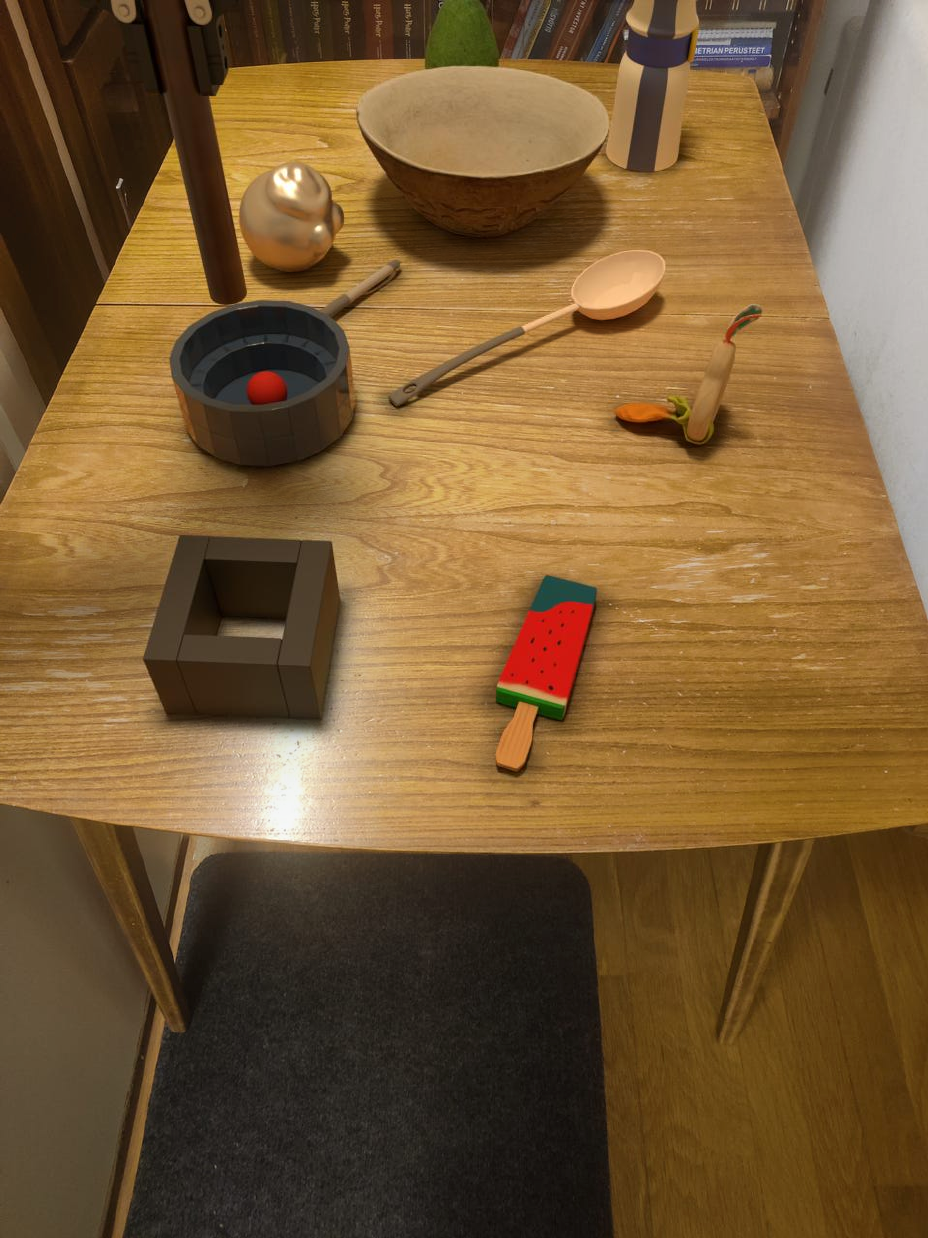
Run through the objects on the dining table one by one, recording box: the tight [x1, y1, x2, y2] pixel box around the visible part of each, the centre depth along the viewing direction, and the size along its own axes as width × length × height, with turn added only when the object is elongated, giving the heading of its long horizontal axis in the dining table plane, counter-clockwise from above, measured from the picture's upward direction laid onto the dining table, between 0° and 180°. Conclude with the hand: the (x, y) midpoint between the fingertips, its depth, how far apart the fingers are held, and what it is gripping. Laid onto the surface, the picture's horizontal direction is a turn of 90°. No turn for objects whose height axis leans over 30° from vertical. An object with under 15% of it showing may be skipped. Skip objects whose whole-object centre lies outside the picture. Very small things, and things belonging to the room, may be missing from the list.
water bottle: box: [605, 0, 700, 173], centre depth 98 cm, size 8×9×25 cm
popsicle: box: [494, 574, 598, 772], centre depth 65 cm, size 4×2×15 cm
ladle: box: [388, 249, 667, 407], centre depth 87 cm, size 6×28×5 cm, turn 124°
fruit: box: [424, 0, 500, 70], centre depth 109 cm, size 8×8×12 cm
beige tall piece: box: [614, 303, 763, 445], centre depth 77 cm, size 8×8×12 cm
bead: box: [247, 371, 288, 405], centre depth 80 cm, size 3×3×3 cm
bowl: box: [355, 66, 610, 238], centre depth 97 cm, size 24×24×10 cm
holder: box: [142, 534, 341, 721], centre depth 65 cm, size 10×10×6 cm
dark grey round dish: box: [168, 299, 356, 467], centre depth 79 cm, size 14×14×6 cm
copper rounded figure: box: [238, 161, 345, 273], centre depth 91 cm, size 9×10×10 cm
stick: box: [142, 0, 248, 306], centre depth 58 cm, size 2×2×18 cm
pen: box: [319, 258, 402, 318], centre depth 90 cm, size 1×14×1 cm, turn 142°
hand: (185, 87), depth 55 cm, fingers closed on stick, 2 cm apart
